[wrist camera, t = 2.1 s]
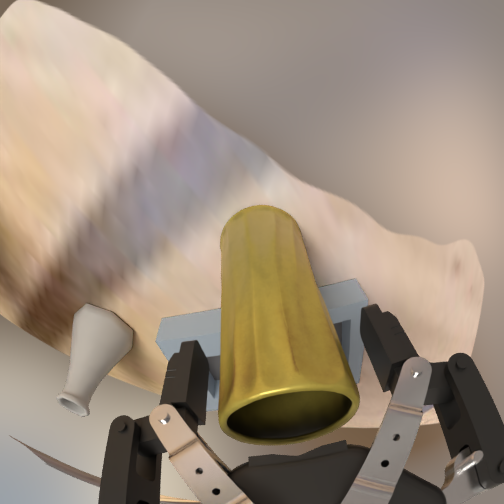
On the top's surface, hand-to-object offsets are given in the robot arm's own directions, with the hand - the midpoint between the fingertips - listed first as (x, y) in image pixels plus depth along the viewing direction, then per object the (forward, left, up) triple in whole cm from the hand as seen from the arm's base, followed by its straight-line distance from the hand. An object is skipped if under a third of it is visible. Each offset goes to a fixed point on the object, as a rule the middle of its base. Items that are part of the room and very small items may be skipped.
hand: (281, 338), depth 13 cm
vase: (0, 0, -10) cm, 10 cm away
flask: (+6, -18, -10) cm, 21 cm away
